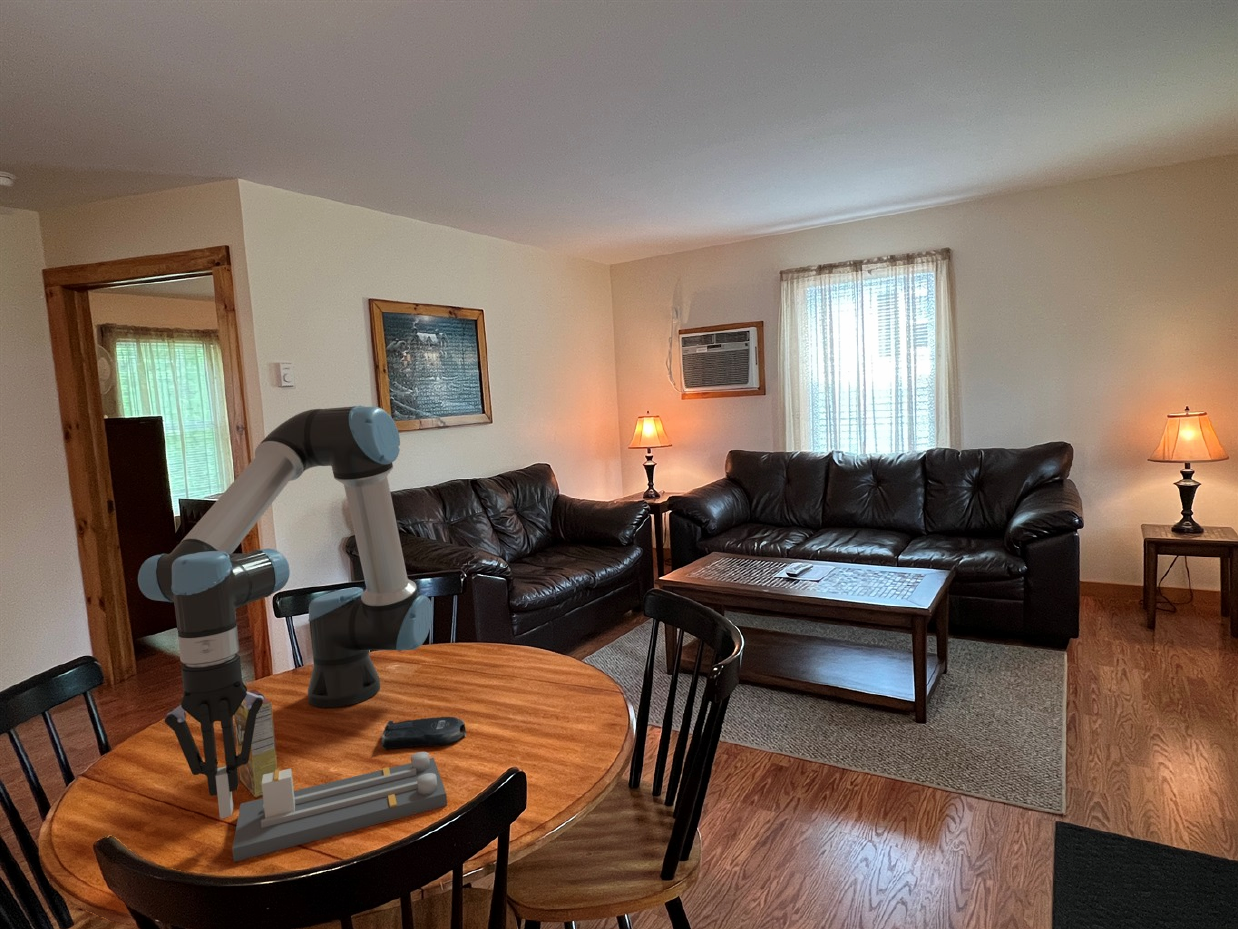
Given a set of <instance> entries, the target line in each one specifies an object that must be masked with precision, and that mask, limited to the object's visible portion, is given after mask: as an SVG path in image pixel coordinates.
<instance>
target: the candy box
mask: <svg viewBox="0 0 1238 929" xmlns="http://www.w3.org/2000/svg"><path fill="white" fill-rule="evenodd" d="M247 692H250V693H253V694H255V695H257V694H261V693H260V691H258V690H257V689H256V688H255V689H250V690H247ZM245 705H246V701H245V700H243V702H242V703H241V705H240V706H239V708H238V710H237V711H236V713H235V714H234V715H233V722H234V732H235V742H236V753H237V755H239V754H241V750H242V744H243V738H244V732H245V726H246V720H247V715H248V711H249V710H248V709H246V707H245ZM275 736H276V735H275V724H274V715H273V703H272V701H270V700H269V699H268V698H267V697H265V696H264V700H263V704H262V706H261V708H260V710H259V711H258V713H257V715H256V721H255V727H254V733H253V739H252V745H251V750H250V756H249V761H248V763H247V764H245V765H241V766H239V767H238V769H239V770H238V774H239V781H241V782H242V784H243V785H244V786H245V787H246V788H247V789H248V791H249V792H250V793H251V794H252V796H253V797H254V799H255V798H256V799H257V798H259V797H261V796H263V792H262V778H263V775H264V774H269V773H273V772H275V770H277V769H278V761H277V759H278V758H277V747H276V737H275Z"/></svg>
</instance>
